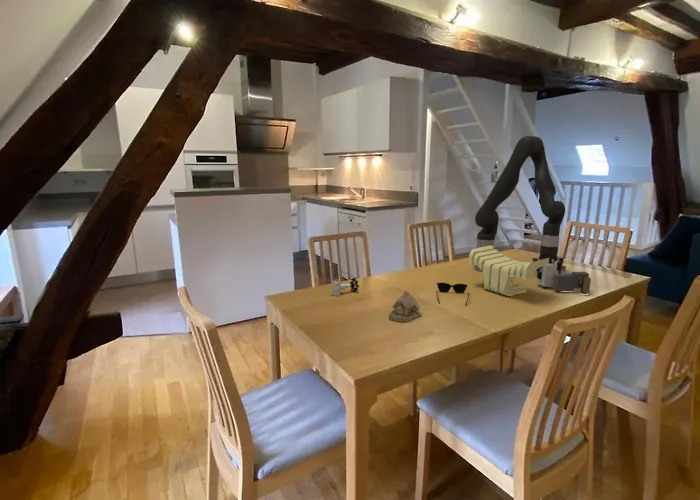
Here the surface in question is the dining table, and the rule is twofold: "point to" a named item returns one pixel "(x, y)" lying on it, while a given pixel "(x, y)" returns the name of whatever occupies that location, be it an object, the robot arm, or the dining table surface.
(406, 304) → the ceramic model
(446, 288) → the sunglasses
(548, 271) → the small box
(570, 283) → the collar
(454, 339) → the dining table surface
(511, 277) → the slatted curved stool
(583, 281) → the brown l-shaped piece
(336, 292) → the valve
